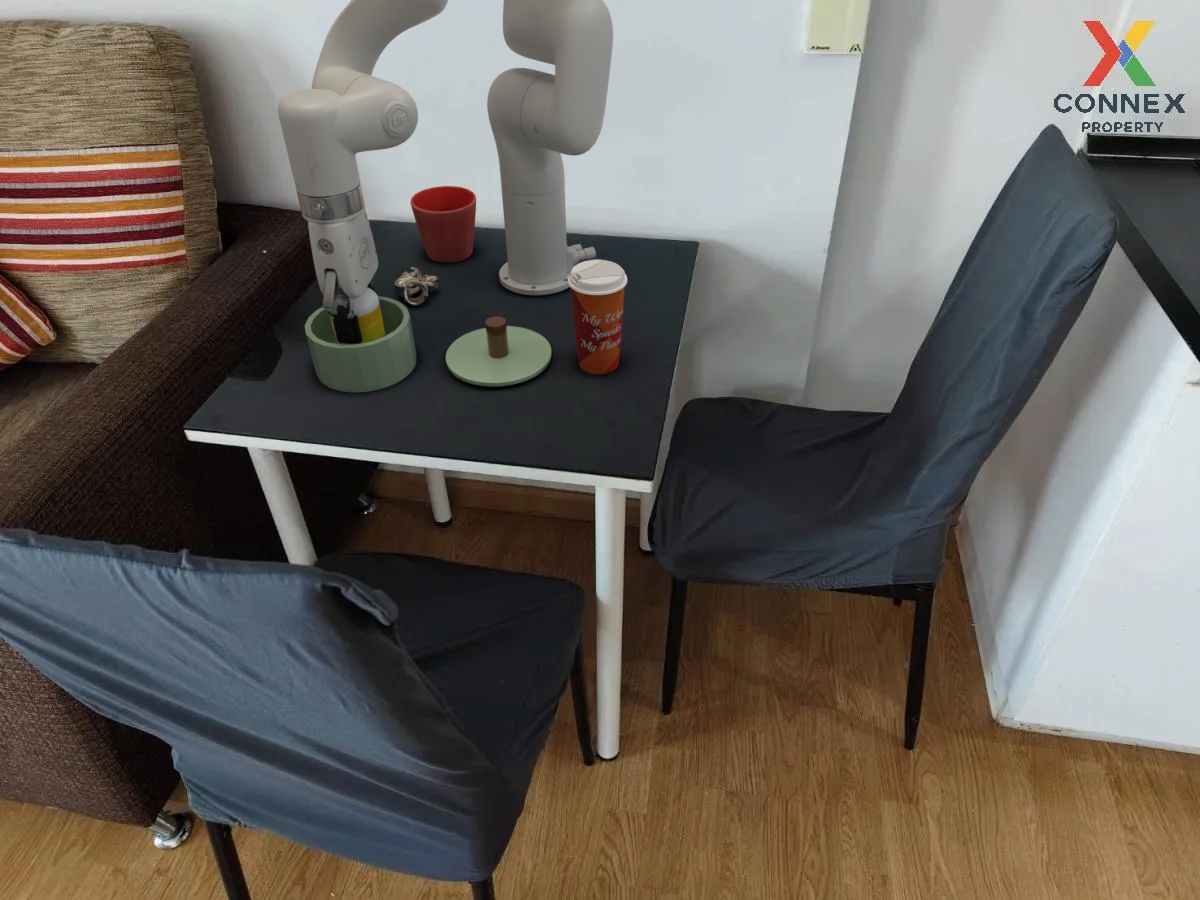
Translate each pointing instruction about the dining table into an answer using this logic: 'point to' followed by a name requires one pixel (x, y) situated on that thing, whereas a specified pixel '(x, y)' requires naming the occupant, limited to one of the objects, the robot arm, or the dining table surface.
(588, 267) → the paper cup
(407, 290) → the ornament
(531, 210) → the robot arm
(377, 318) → the supplement bottle
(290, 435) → the dining table surface
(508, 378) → the pot lid
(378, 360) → the pot
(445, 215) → the flower pot
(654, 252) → the dining table surface
